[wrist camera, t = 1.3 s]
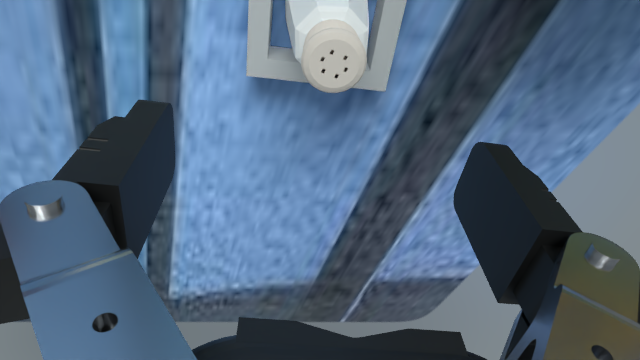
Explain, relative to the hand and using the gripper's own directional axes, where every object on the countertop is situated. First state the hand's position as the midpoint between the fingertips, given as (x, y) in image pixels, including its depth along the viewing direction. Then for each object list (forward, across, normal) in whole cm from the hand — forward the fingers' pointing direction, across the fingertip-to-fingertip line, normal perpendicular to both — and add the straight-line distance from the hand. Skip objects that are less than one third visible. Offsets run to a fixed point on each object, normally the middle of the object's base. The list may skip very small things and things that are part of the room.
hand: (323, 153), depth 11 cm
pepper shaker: (+19, -1, 0) cm, 19 cm away
